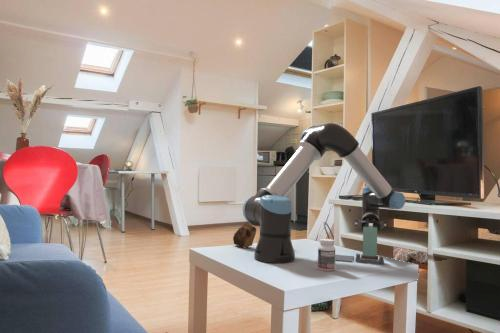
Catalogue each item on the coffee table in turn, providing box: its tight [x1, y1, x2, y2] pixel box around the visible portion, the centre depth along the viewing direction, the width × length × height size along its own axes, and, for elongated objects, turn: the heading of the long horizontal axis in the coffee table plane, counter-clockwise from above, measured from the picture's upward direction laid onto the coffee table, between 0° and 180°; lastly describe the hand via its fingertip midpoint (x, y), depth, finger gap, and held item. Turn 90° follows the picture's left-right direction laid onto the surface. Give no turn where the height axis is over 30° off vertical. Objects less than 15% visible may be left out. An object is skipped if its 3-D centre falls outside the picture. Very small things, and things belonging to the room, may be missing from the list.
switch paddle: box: [360, 227, 379, 260], centre depth 140 cm, size 6×1×12 cm, turn 72°
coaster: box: [335, 254, 354, 263], centre depth 145 cm, size 10×10×1 cm
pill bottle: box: [317, 238, 336, 272], centre depth 127 cm, size 6×6×10 cm
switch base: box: [355, 253, 385, 266], centre depth 140 cm, size 10×4×3 cm, turn 72°
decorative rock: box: [232, 221, 257, 248], centre depth 163 cm, size 12×6×11 cm, turn 34°
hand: (370, 228), depth 144 cm, fingers closed
